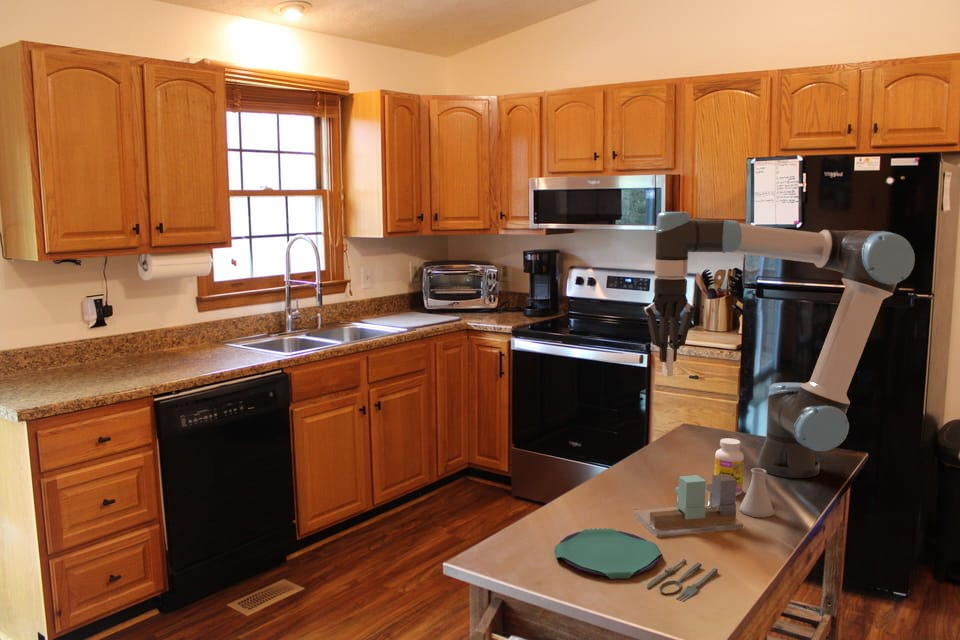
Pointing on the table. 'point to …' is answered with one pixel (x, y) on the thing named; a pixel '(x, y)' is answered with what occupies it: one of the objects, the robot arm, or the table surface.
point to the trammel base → (684, 528)
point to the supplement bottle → (730, 461)
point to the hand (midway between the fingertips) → (667, 374)
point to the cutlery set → (620, 557)
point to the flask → (757, 496)
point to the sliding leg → (691, 496)
